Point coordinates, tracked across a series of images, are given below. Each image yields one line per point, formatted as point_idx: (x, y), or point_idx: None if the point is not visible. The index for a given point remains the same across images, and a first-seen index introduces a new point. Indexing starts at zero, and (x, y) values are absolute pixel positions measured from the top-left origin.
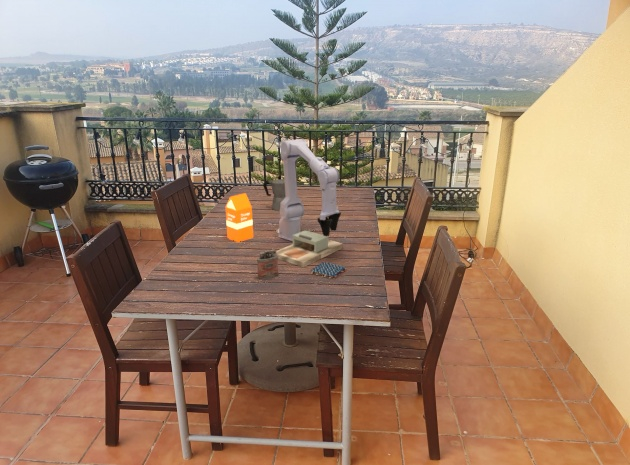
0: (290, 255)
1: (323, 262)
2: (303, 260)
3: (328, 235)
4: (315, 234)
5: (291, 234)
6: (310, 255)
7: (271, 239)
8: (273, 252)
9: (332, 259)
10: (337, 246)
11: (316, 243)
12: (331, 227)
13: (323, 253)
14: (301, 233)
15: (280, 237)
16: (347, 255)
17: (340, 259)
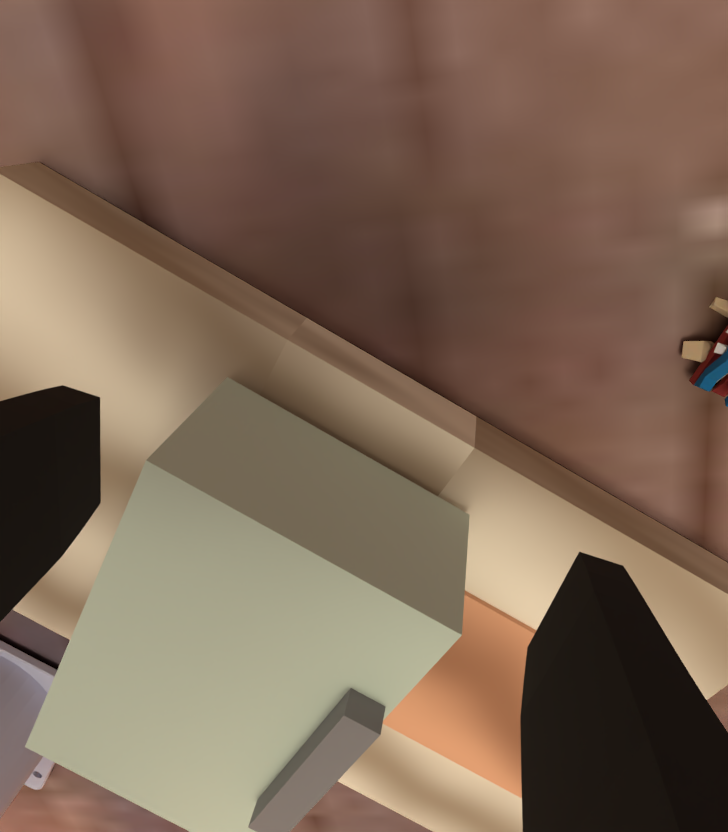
0: None
1: (710, 384)
2: (719, 632)
3: (627, 574)
4: (122, 639)
5: (24, 749)
6: (537, 565)
7: (107, 814)
8: None
9: (483, 265)
10: (124, 242)
11: (450, 605)
12: (51, 536)
13: (426, 415)
14: (154, 784)
15: (50, 770)
16: (289, 41)
17: (469, 141)
